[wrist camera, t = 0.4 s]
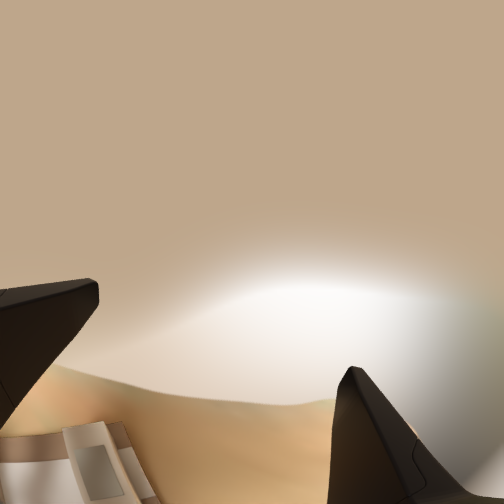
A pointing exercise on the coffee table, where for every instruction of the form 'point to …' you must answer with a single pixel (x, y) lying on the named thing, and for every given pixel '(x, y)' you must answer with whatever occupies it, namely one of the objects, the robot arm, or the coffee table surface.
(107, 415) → the coffee table surface
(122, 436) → the board
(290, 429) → the coffee table surface
